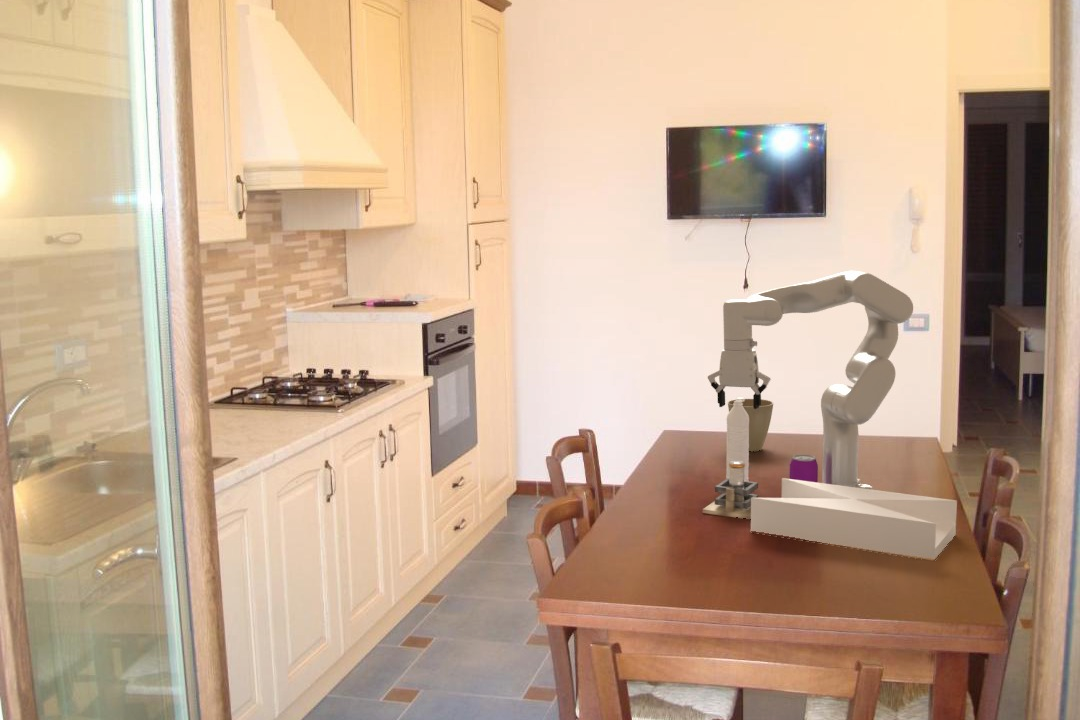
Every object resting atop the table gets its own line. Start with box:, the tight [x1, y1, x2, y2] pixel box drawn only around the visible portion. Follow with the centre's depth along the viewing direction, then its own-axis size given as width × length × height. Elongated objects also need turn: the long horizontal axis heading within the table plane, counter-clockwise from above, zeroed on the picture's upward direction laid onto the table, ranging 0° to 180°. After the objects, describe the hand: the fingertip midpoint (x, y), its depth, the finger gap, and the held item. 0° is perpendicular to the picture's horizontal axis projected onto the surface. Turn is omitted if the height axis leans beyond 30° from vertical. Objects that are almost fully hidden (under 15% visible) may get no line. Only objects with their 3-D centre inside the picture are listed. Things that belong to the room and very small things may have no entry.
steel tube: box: [728, 461, 745, 508], centre depth 294 cm, size 4×4×12 cm
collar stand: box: [702, 478, 759, 520], centre depth 294 cm, size 14×14×7 cm
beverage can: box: [788, 454, 819, 483], centre depth 303 cm, size 8×8×12 cm
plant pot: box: [727, 398, 774, 453], centre depth 361 cm, size 15×15×16 cm
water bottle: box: [725, 396, 750, 481], centre depth 319 cm, size 9×6×25 cm
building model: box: [750, 477, 958, 559], centre depth 272 cm, size 45×22×10 cm, turn 57°
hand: (739, 407), depth 296 cm, fingers open, 9 cm apart
